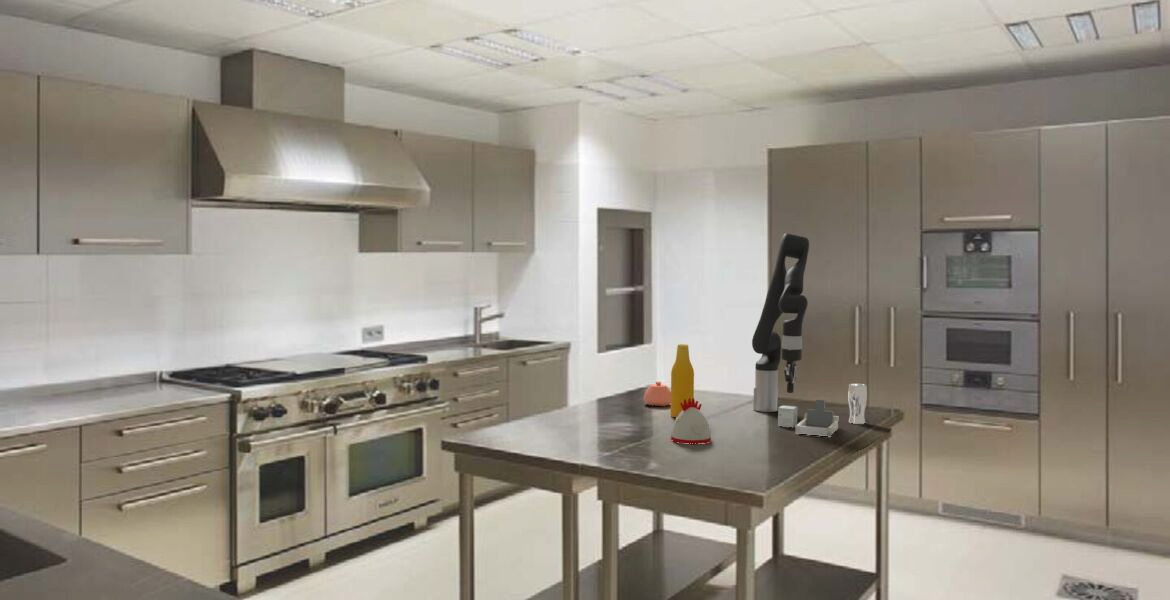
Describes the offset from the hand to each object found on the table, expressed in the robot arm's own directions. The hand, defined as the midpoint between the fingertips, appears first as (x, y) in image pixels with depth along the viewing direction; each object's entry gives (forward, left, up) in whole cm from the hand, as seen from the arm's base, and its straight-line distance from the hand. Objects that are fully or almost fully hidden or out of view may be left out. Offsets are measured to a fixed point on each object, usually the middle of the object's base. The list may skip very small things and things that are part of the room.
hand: (790, 392), depth 324 cm
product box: (-1, 0, -13) cm, 13 cm away
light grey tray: (+11, -5, -13) cm, 18 cm away
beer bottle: (-43, -1, -13) cm, 45 cm away
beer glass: (+22, +18, -13) cm, 31 cm away
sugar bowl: (-61, +20, -13) cm, 65 cm away
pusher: (+11, 0, -12) cm, 16 cm away
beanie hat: (-26, -41, -13) cm, 50 cm away
